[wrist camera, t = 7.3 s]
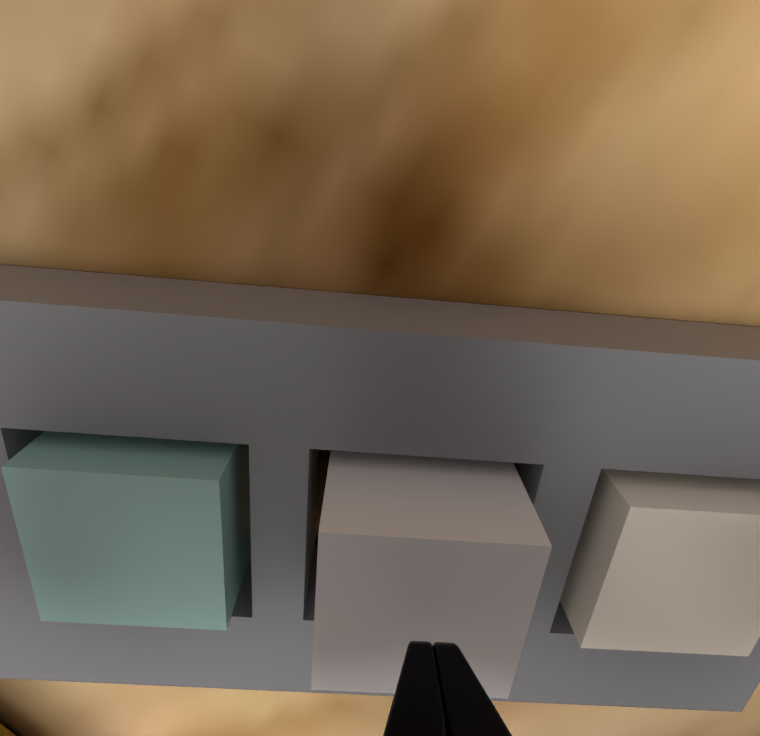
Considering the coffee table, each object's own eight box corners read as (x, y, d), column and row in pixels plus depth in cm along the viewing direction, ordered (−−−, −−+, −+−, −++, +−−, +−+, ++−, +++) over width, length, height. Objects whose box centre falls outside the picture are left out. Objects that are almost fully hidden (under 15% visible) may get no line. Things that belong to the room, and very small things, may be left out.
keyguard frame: (826, 332, 12) (939, 374, 9) (686, 629, 15) (741, 712, 13) (-284, 240, 10) (-471, 262, 8) (-133, 586, 14) (-232, 667, 12)
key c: (255, 407, 12) (219, 480, 9) (257, 534, 13) (227, 630, 11) (89, 395, 12) (0, 466, 9) (110, 525, 13) (40, 620, 10)
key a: (724, 440, 12) (824, 519, 10) (674, 559, 14) (748, 656, 11) (572, 429, 12) (630, 506, 10) (539, 550, 14) (580, 647, 11)
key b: (507, 450, 11) (552, 545, 8) (478, 581, 13) (508, 699, 10) (332, 438, 11) (318, 532, 8) (324, 572, 12) (310, 690, 10)
